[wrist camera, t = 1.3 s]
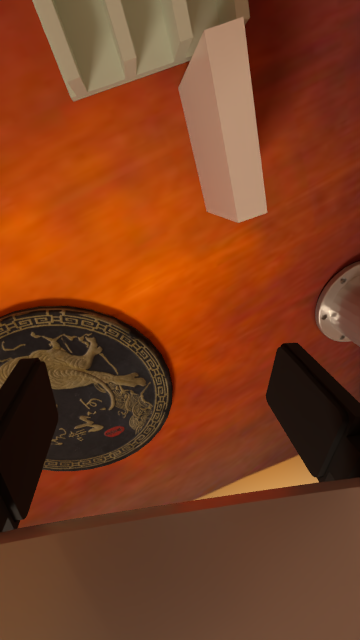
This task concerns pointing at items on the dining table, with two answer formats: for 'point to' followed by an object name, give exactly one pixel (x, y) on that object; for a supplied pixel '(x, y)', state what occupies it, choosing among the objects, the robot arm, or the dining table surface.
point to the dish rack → (127, 37)
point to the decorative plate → (91, 382)
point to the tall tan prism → (224, 123)
